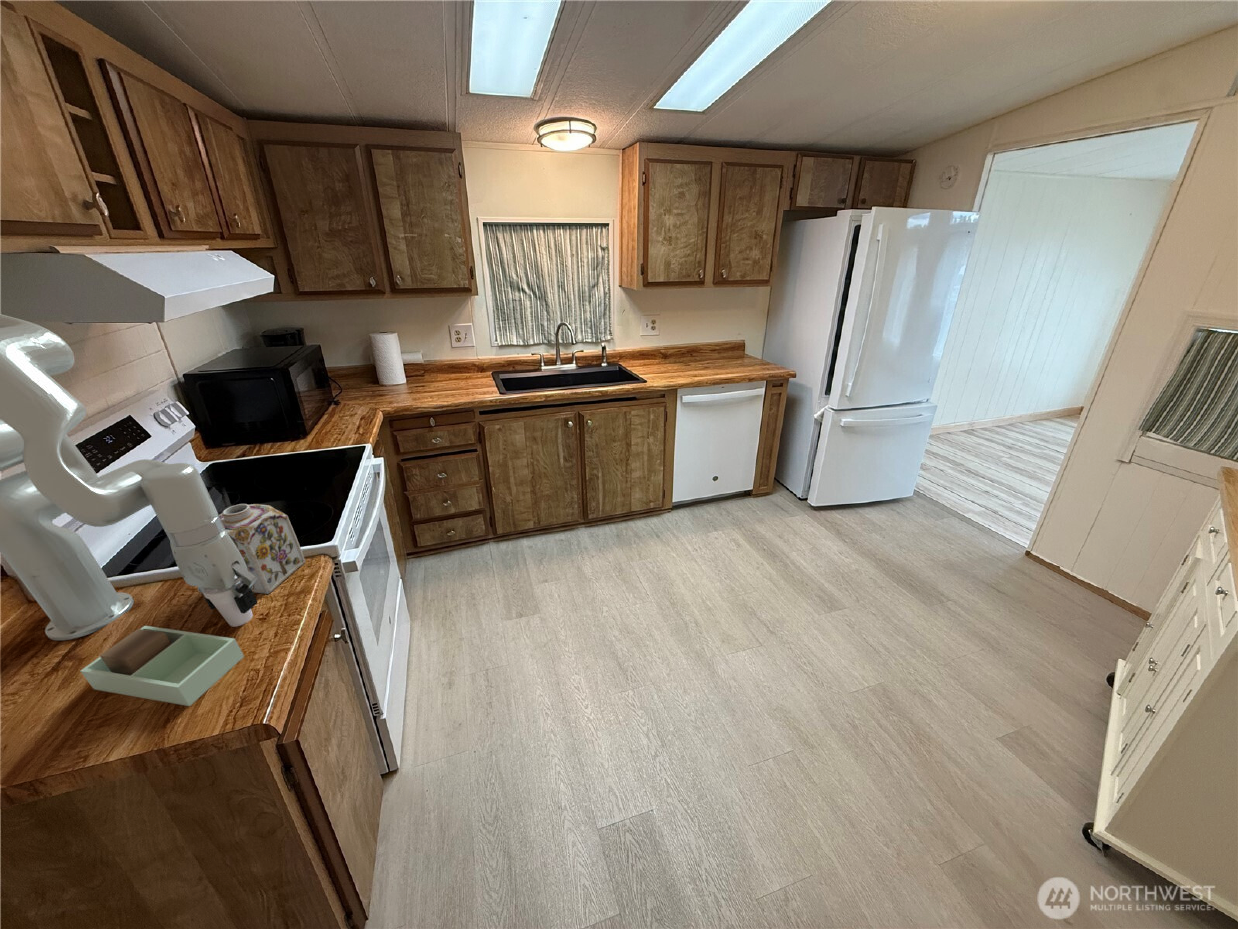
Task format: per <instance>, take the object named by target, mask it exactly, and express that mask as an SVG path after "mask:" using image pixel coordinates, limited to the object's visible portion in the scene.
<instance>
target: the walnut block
mask: <svg viewBox="0 0 1238 929" xmlns="http://www.w3.org/2000/svg"><path fill="white" fill-rule="evenodd" d="M171 644H172V643H171V642H170V640H169V638H168V637H167V635H166V634H165V633H162V632H155V631H148V630H141V628H137V629H136V630H134V631H132V633H130V634H128V635H127V636H126V637H124V638H122V640H120V641H118V642H117V643H116V644H114V645H113V646H111V647H109V649H107V650H106V651H104V652H103V653H101V654H100V655H99V657H101V658H102V660H103V661H104V662H105V664H106V665H107V667H108V668H109V670H110V671H111V672H112V673H117V674H123V675H129V676H131V675H132V674H133V673H135V672H136V671H137V670H138V669H140V668H141V667H142V666H144V665H145V664H146V663H148V662H149V661H150V660H152V659H153V658H154V657H155V656H157V655H158V654H159V653H161V652H162V651H163V650H165V649H166V648H167V647H169V646H170V645H171Z"/></svg>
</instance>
